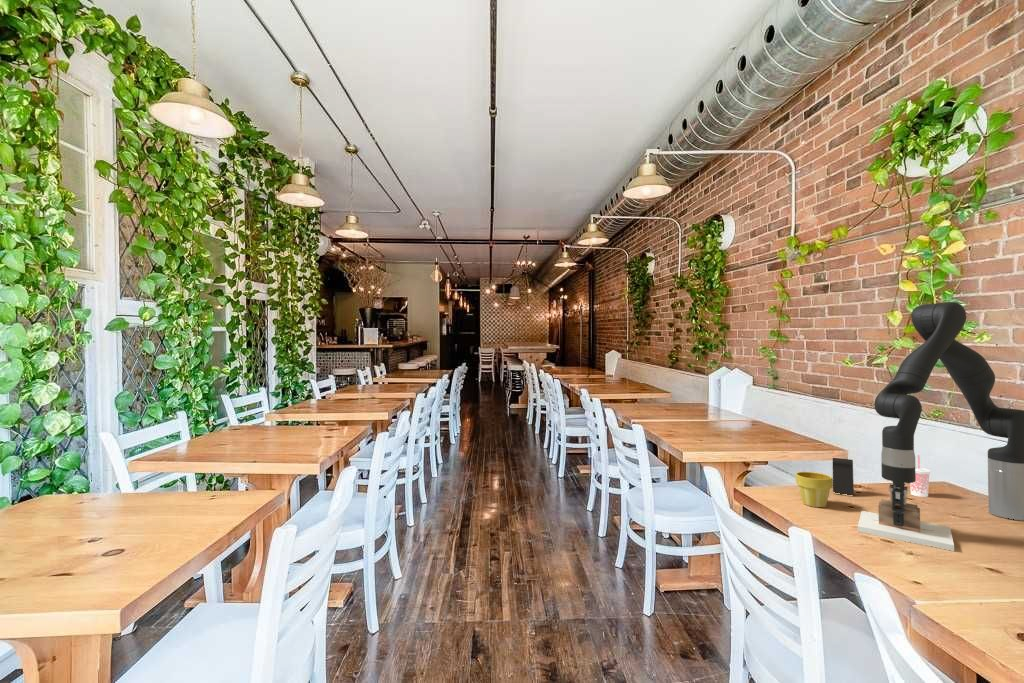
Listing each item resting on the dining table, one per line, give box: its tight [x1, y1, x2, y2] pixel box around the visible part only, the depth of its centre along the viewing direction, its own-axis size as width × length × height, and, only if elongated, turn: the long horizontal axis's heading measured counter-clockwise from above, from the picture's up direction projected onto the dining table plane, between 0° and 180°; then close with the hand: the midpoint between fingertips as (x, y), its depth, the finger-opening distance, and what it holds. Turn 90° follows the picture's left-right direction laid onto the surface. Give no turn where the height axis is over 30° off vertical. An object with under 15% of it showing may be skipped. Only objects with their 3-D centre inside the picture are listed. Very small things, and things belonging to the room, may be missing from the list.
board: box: [857, 510, 955, 552], centre depth 132 cm, size 20×16×2 cm
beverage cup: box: [909, 455, 931, 498], centre depth 164 cm, size 6×6×14 cm
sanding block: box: [877, 498, 921, 532], centre depth 133 cm, size 9×6×6 cm, turn 49°
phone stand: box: [832, 457, 855, 496], centre depth 168 cm, size 9×6×12 cm, turn 146°
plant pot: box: [795, 471, 833, 508], centre depth 155 cm, size 10×10×10 cm
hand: (898, 522), depth 133 cm, fingers closed on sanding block, 5 cm apart
